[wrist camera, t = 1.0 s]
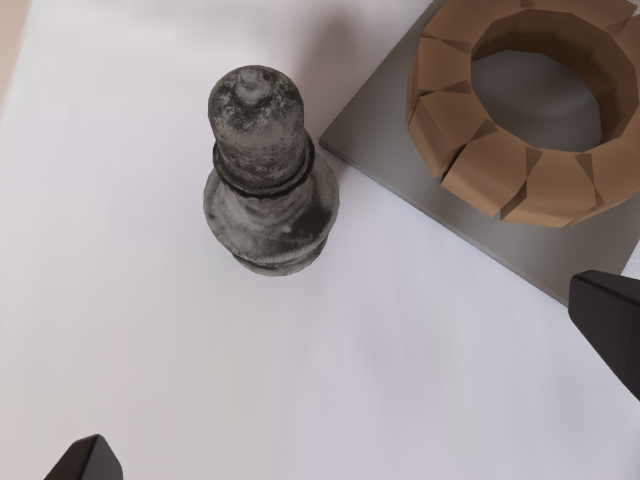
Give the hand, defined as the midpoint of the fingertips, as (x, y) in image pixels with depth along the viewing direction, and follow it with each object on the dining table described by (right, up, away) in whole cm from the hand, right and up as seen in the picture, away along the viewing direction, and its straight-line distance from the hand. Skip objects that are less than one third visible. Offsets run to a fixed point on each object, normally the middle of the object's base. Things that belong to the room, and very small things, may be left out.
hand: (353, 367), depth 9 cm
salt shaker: (-3, +3, +15) cm, 16 cm away
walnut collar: (+10, +9, +17) cm, 22 cm away
